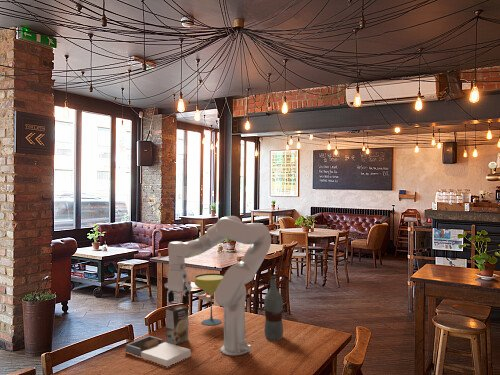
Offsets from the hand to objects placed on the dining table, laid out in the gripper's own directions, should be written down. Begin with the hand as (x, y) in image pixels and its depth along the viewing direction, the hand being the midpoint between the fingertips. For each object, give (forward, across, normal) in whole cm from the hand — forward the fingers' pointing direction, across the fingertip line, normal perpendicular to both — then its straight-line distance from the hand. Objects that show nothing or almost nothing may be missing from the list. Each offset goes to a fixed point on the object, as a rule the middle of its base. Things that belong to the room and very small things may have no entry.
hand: (178, 302), depth 204 cm
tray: (+18, +5, +17) cm, 26 cm away
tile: (+16, +2, +17) cm, 24 cm away
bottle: (+20, -35, -30) cm, 50 cm away
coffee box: (+19, +1, 0) cm, 19 cm away
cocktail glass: (+19, +6, -31) cm, 37 cm away
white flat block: (+19, -9, +17) cm, 27 cm away
